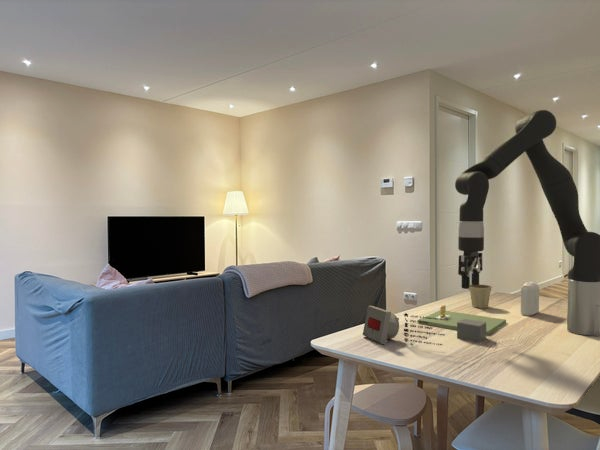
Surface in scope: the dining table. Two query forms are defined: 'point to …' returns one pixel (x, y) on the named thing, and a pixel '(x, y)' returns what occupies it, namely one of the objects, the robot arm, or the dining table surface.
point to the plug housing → (471, 330)
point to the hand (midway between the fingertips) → (470, 286)
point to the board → (456, 317)
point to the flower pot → (480, 295)
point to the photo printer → (529, 298)
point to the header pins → (442, 311)
